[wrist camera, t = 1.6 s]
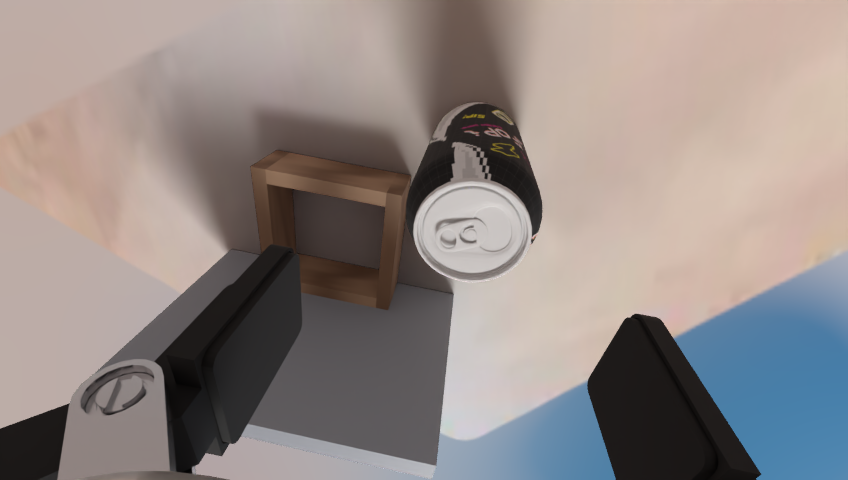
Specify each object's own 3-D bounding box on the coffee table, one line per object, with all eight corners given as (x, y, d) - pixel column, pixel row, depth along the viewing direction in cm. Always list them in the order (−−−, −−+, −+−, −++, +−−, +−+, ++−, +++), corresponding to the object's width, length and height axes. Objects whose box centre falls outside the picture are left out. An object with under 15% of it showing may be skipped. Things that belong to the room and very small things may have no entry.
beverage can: (423, 111, 23) (378, 181, 13) (513, 89, 22) (542, 148, 11) (443, 191, 26) (418, 301, 16) (524, 176, 24) (555, 287, 14)
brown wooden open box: (411, 175, 25) (401, 195, 22) (397, 282, 31) (388, 310, 28) (276, 150, 26) (250, 166, 23) (286, 260, 31) (265, 285, 28)
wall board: (453, 294, 30) (436, 466, 19) (450, 306, 31) (431, 479, 20) (231, 249, 31) (79, 386, 19) (233, 262, 32) (90, 402, 20)
